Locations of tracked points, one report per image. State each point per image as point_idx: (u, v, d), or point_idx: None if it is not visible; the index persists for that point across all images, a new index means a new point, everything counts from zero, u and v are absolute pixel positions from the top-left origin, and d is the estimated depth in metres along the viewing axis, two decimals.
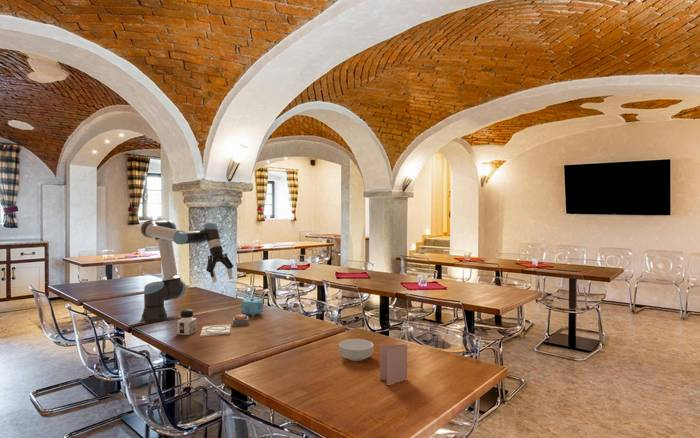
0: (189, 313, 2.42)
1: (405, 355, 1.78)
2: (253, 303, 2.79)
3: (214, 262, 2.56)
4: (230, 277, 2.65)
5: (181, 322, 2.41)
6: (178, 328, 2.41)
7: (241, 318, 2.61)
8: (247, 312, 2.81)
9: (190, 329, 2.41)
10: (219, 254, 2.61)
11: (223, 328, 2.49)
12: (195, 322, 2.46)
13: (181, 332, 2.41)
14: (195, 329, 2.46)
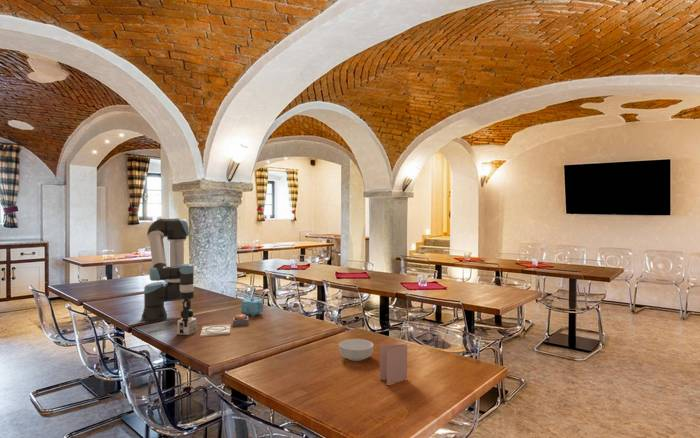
0: (189, 313, 2.42)
1: (405, 355, 1.78)
2: (253, 303, 2.79)
3: (188, 310, 2.40)
4: None
5: (181, 322, 2.41)
6: (178, 328, 2.41)
7: (241, 318, 2.61)
8: (247, 312, 2.81)
9: (190, 329, 2.41)
10: None
11: (223, 328, 2.49)
12: (195, 322, 2.46)
13: (181, 332, 2.41)
14: (195, 329, 2.46)
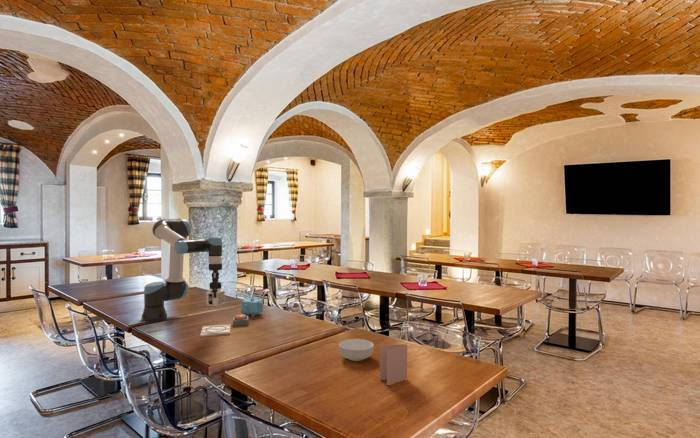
0: (218, 284, 2.44)
1: (405, 355, 1.78)
2: (253, 303, 2.79)
3: (216, 281, 2.43)
4: None
5: (210, 293, 2.43)
6: (207, 299, 2.43)
7: (241, 318, 2.61)
8: (247, 312, 2.81)
9: (219, 300, 2.43)
10: (217, 270, 2.47)
11: (223, 328, 2.49)
12: (223, 294, 2.48)
13: (210, 303, 2.43)
14: (223, 301, 2.48)
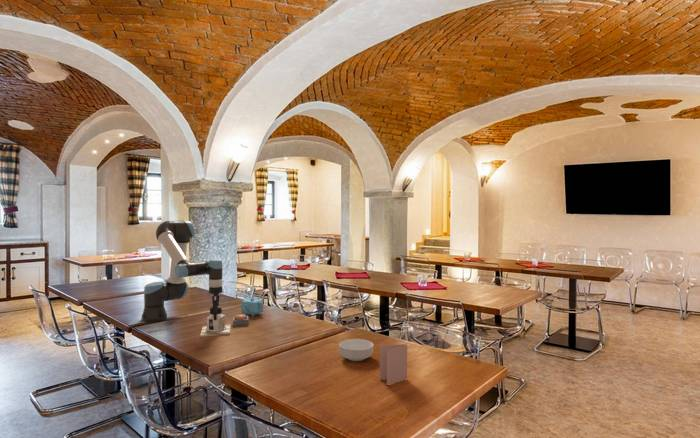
0: (218, 310, 2.45)
1: (405, 355, 1.78)
2: (253, 303, 2.79)
3: (217, 304, 2.42)
4: None
5: (210, 319, 2.43)
6: (207, 324, 2.44)
7: (241, 318, 2.61)
8: (247, 312, 2.81)
9: (219, 326, 2.44)
10: None
11: (223, 328, 2.49)
12: (224, 319, 2.49)
13: (210, 328, 2.44)
14: (224, 325, 2.49)
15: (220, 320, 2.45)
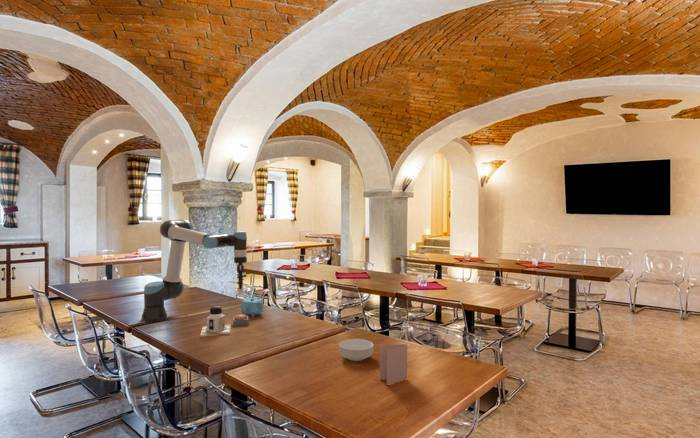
0: (218, 310, 2.45)
1: (405, 355, 1.78)
2: (253, 303, 2.79)
3: None
4: None
5: (210, 319, 2.43)
6: (207, 324, 2.44)
7: (241, 318, 2.61)
8: (247, 312, 2.81)
9: (219, 326, 2.44)
10: None
11: (223, 328, 2.49)
12: (224, 319, 2.49)
13: (210, 328, 2.44)
14: (224, 325, 2.49)
15: (220, 320, 2.45)
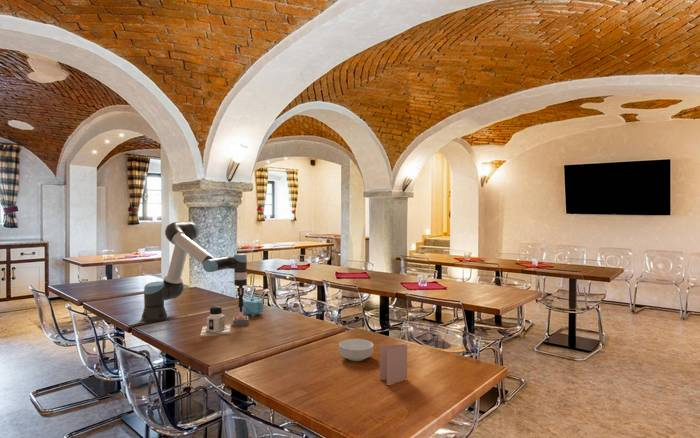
0: (218, 310, 2.45)
1: (405, 355, 1.78)
2: (253, 303, 2.79)
3: None
4: None
5: (210, 319, 2.43)
6: (207, 324, 2.44)
7: (241, 319, 2.61)
8: (247, 312, 2.81)
9: (219, 326, 2.44)
10: None
11: (223, 328, 2.49)
12: (224, 319, 2.49)
13: (210, 328, 2.44)
14: (224, 325, 2.49)
15: (220, 320, 2.45)
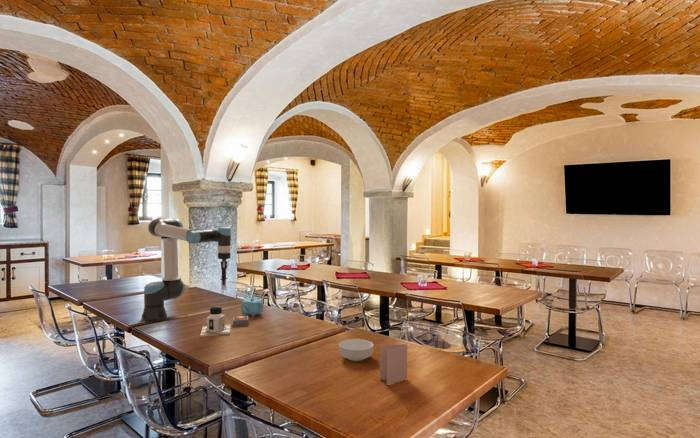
0: (218, 310, 2.45)
1: (405, 355, 1.78)
2: (253, 303, 2.79)
3: None
4: None
5: (210, 319, 2.43)
6: (207, 324, 2.44)
7: None
8: (247, 312, 2.81)
9: (219, 326, 2.44)
10: None
11: (223, 328, 2.49)
12: (224, 319, 2.49)
13: (210, 328, 2.44)
14: (224, 325, 2.49)
15: (220, 320, 2.45)
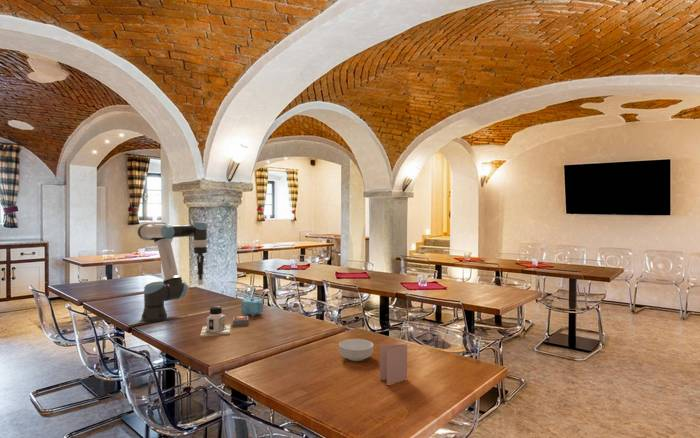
0: (218, 310, 2.45)
1: (405, 355, 1.78)
2: (253, 303, 2.79)
3: (202, 264, 2.61)
4: None
5: (210, 319, 2.43)
6: (207, 324, 2.44)
7: None
8: (247, 312, 2.81)
9: (219, 326, 2.44)
10: None
11: (223, 328, 2.49)
12: (224, 319, 2.49)
13: (210, 328, 2.44)
14: (224, 325, 2.49)
15: (220, 320, 2.45)
